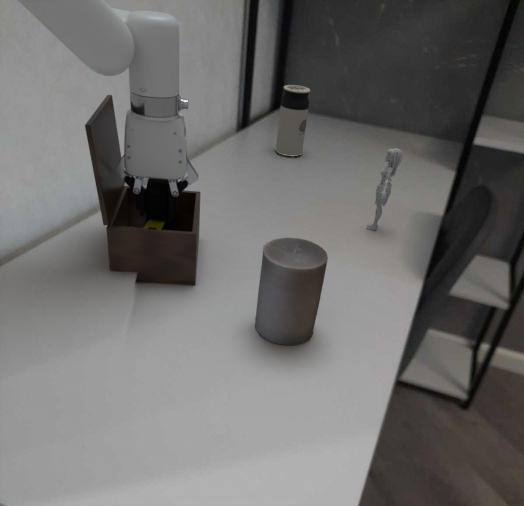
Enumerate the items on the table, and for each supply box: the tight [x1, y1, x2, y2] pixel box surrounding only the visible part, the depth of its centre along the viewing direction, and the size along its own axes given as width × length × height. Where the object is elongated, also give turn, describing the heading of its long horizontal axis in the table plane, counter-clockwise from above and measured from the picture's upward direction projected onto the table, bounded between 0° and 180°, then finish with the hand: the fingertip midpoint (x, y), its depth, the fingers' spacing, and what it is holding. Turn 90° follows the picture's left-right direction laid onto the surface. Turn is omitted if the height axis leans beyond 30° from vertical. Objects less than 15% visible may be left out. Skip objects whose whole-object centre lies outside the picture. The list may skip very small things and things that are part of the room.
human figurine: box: [366, 147, 403, 231], centre depth 114 cm, size 12×4×18 cm, turn 163°
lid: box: [84, 94, 126, 226], centre depth 86 cm, size 15×19×1 cm
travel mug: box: [275, 84, 311, 155], centre depth 151 cm, size 8×8×18 cm
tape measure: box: [142, 178, 175, 230], centre depth 92 cm, size 15×4×8 cm, turn 176°
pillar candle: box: [254, 237, 329, 346], centre depth 80 cm, size 10×10×15 cm
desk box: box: [105, 185, 201, 286], centre depth 95 cm, size 15×19×10 cm
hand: (157, 213), depth 93 cm, fingers closed on tape measure, 4 cm apart
